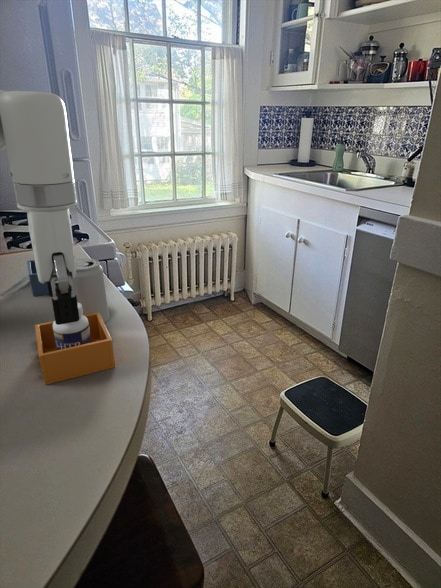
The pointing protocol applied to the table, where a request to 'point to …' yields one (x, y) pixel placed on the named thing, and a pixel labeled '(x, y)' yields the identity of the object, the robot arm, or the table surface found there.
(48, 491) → the table surface
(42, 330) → the amber bin
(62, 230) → the robot arm
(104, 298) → the beverage can
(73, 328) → the pill bottle
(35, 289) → the slate bin
